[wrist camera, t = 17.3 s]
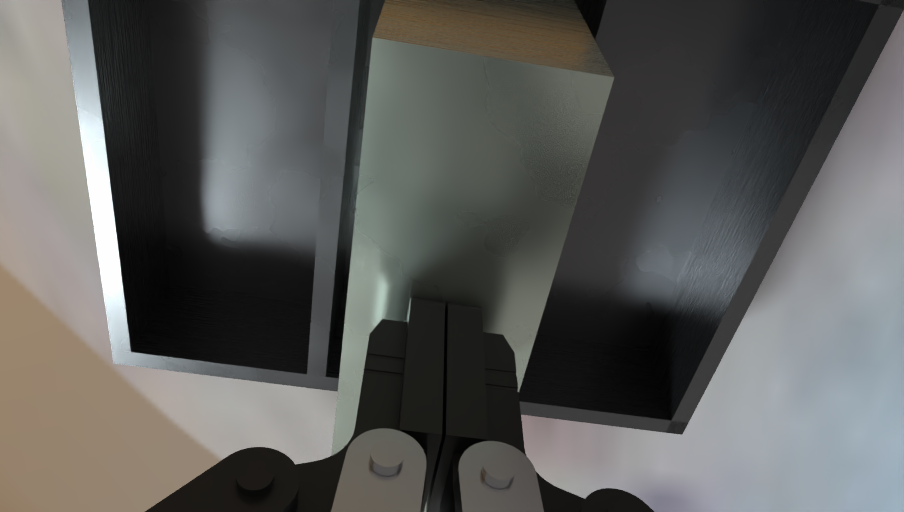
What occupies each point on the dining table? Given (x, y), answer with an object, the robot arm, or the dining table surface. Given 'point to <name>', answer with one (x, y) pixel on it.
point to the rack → (337, 172)
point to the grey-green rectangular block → (468, 167)
